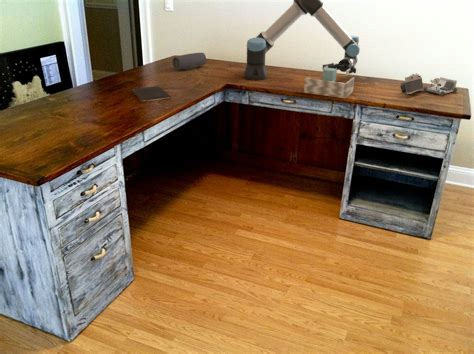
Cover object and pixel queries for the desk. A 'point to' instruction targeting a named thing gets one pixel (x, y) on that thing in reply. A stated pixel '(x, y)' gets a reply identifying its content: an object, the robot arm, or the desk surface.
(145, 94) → the hardcover book
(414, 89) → the camera
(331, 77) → the teal block
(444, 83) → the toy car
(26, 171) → the desk surface
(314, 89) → the arena
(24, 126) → the desk surface
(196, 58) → the bluetooth speaker
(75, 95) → the desk surface
